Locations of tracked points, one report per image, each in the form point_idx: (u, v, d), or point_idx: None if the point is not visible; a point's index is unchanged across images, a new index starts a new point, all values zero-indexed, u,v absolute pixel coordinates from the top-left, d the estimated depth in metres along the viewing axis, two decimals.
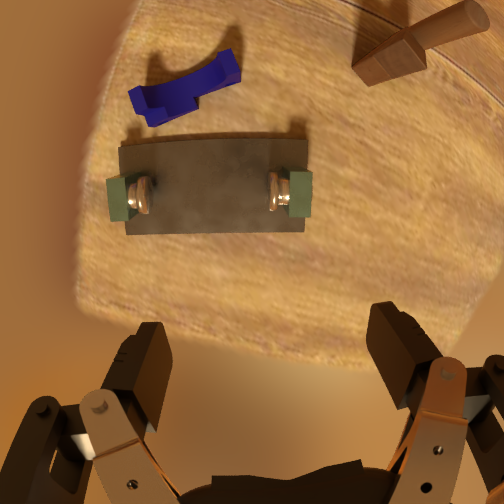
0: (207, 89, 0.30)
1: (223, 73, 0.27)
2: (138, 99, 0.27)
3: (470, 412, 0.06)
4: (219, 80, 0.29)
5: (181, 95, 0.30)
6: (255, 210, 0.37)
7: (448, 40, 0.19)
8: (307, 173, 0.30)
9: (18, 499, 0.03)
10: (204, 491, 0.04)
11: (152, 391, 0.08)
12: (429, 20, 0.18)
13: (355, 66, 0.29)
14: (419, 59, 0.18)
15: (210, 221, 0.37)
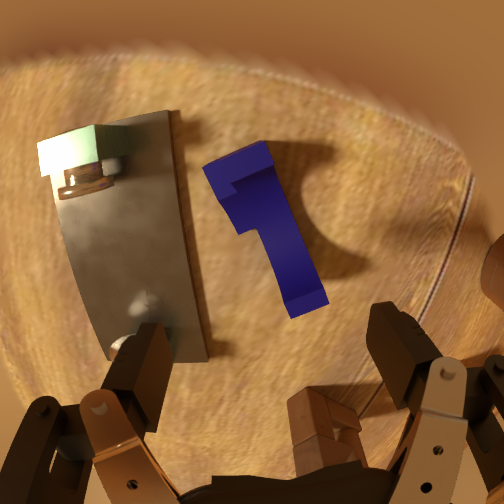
0: (267, 250, 0.23)
1: (289, 289, 0.21)
2: (246, 164, 0.17)
3: (470, 412, 0.06)
4: (279, 275, 0.22)
5: (258, 210, 0.22)
6: (110, 314, 0.26)
7: None
8: None
9: (18, 499, 0.03)
10: (204, 491, 0.04)
11: (152, 391, 0.08)
12: None
13: (307, 395, 0.30)
14: None
15: (82, 263, 0.24)
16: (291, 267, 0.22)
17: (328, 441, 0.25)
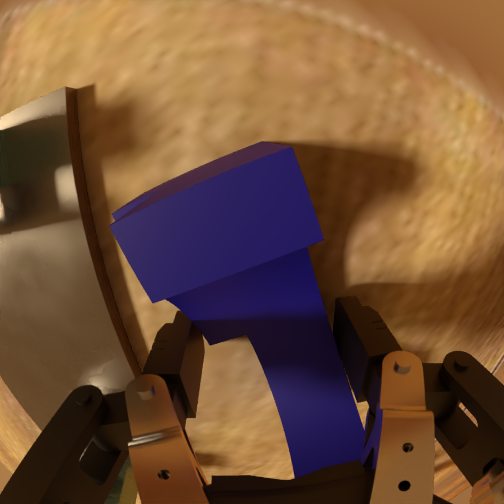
0: (268, 374, 0.11)
1: (308, 453, 0.09)
2: (213, 238, 0.04)
3: (430, 409, 0.06)
4: (289, 422, 0.10)
5: (252, 305, 0.10)
6: (47, 413, 0.14)
7: None
8: None
9: (39, 485, 0.03)
10: (204, 491, 0.04)
11: (192, 377, 0.09)
12: None
13: None
14: None
15: None
16: (313, 409, 0.10)
17: None
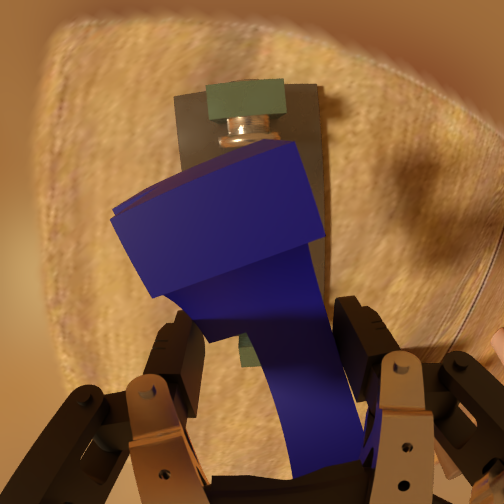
0: (267, 373, 0.11)
1: (306, 453, 0.09)
2: (214, 233, 0.04)
3: (429, 409, 0.06)
4: (288, 422, 0.10)
5: (252, 303, 0.10)
6: None
7: None
8: None
9: (39, 485, 0.03)
10: (204, 491, 0.04)
11: (193, 376, 0.09)
12: None
13: None
14: None
15: None
16: (312, 409, 0.10)
17: None
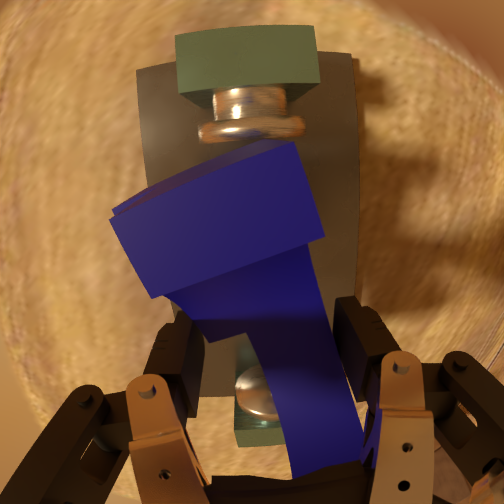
0: (267, 373, 0.11)
1: (306, 453, 0.09)
2: (213, 233, 0.04)
3: (429, 409, 0.06)
4: (288, 422, 0.10)
5: (252, 303, 0.10)
6: None
7: None
8: None
9: (39, 485, 0.03)
10: (204, 491, 0.04)
11: (193, 376, 0.09)
12: None
13: None
14: None
15: None
16: (312, 409, 0.10)
17: None
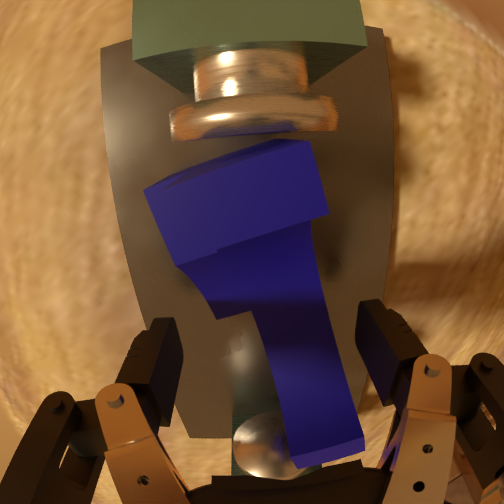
0: (268, 350, 0.12)
1: (302, 427, 0.10)
2: (244, 206, 0.06)
3: (456, 410, 0.06)
4: (285, 397, 0.11)
5: (259, 282, 0.11)
6: (214, 383, 0.15)
7: None
8: None
9: (25, 494, 0.03)
10: (204, 491, 0.04)
11: (166, 386, 0.08)
12: None
13: None
14: None
15: (168, 300, 0.13)
16: (308, 386, 0.11)
17: (468, 478, 0.14)
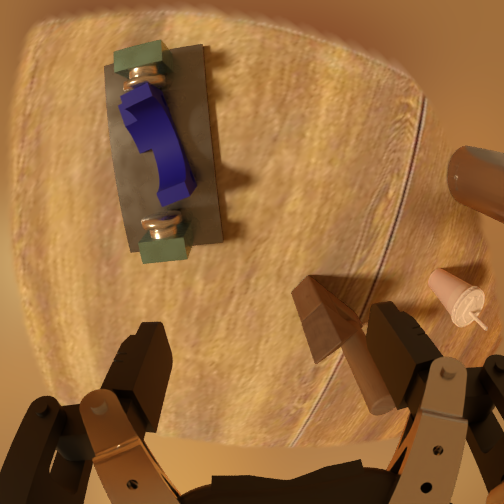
0: (158, 164, 0.29)
1: (164, 186, 0.28)
2: (135, 96, 0.23)
3: (470, 412, 0.06)
4: (161, 179, 0.29)
5: (153, 135, 0.28)
6: (141, 200, 0.33)
7: (353, 373, 0.31)
8: (185, 254, 0.30)
9: (18, 499, 0.03)
10: (204, 491, 0.04)
11: (152, 391, 0.08)
12: (370, 355, 0.31)
13: (309, 280, 0.37)
14: (323, 356, 0.26)
15: (123, 155, 0.30)
16: (170, 174, 0.29)
17: (333, 312, 0.32)
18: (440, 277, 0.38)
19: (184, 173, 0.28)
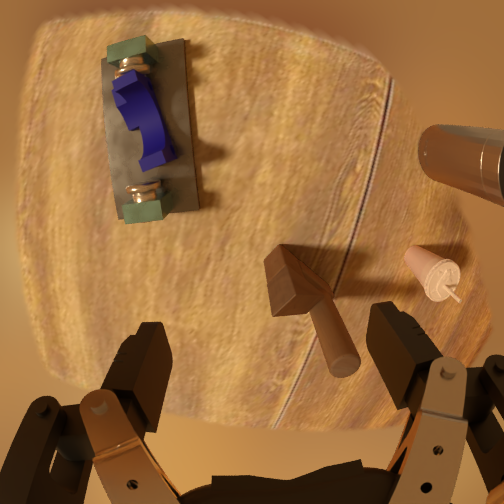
0: (143, 139, 0.33)
1: (146, 155, 0.31)
2: (124, 81, 0.26)
3: (470, 412, 0.06)
4: (145, 151, 0.32)
5: (140, 115, 0.32)
6: (129, 172, 0.36)
7: (318, 336, 0.34)
8: (161, 215, 0.33)
9: (18, 499, 0.03)
10: (204, 491, 0.04)
11: (152, 392, 0.08)
12: (334, 318, 0.33)
13: (279, 247, 0.40)
14: (279, 309, 0.29)
15: (115, 133, 0.34)
16: (152, 146, 0.32)
17: (297, 274, 0.35)
18: (415, 253, 0.40)
19: (163, 145, 0.32)
